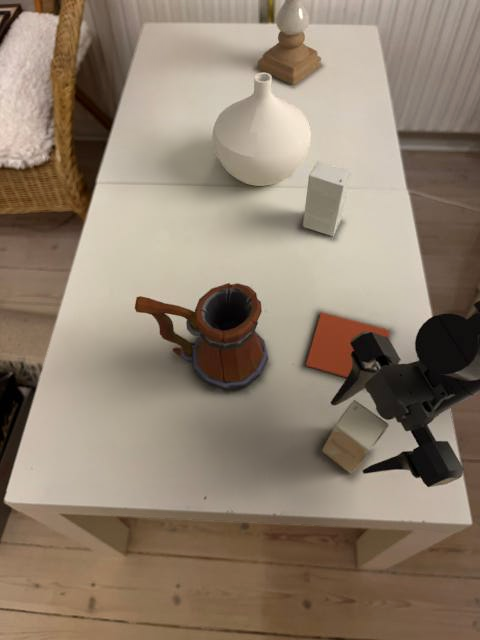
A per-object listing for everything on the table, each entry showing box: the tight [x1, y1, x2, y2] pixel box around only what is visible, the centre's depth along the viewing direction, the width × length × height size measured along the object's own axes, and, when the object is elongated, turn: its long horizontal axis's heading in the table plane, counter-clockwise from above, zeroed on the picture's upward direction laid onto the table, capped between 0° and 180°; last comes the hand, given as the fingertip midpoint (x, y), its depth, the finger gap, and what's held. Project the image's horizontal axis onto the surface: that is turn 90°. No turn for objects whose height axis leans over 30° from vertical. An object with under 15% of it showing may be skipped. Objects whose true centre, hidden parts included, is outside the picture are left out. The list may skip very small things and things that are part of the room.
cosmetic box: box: [302, 160, 352, 237], centre depth 84 cm, size 6×4×12 cm
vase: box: [211, 71, 312, 187], centre depth 89 cm, size 18×18×19 cm
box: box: [321, 399, 390, 474], centre depth 62 cm, size 5×4×11 cm
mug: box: [134, 282, 268, 391], centre depth 69 cm, size 18×12×15 cm, turn 83°
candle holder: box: [257, 0, 322, 86], centre depth 106 cm, size 11×11×24 cm
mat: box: [305, 311, 390, 379], centre depth 75 cm, size 11×10×1 cm
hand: (347, 436), depth 61 cm, fingers open, 9 cm apart
